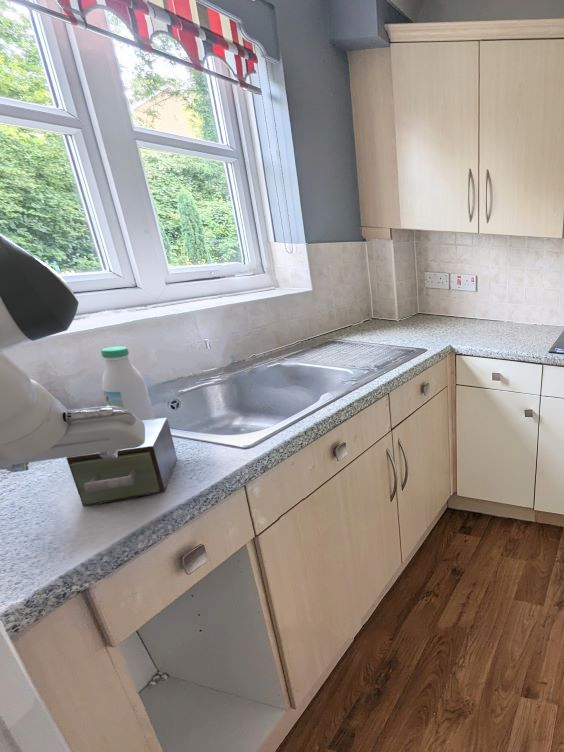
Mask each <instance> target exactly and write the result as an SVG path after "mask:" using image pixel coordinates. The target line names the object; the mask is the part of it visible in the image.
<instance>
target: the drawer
mask: <svg viewBox="0 0 564 752" xmlns="http://www.w3.org/2000/svg"><path fill="white" fill-rule="evenodd" d="M70 466H71V469H72V472H73V475H74V478H75V481H76V483H77V486H78V489H79V492H80V495H81V498H82V501H83V504H84V505H85V504H91V503H97V502H102V501H108V500H113V499H119V498H125V497H130V496H136V495H142V494H147V493H153V492H159V490H160V486H159V483H158V479H157V475H156V472H155V468H154V464H153V461H152V457H151V453H150V451H142V452H135V453H128V454H121V455H118V456H117V457H115V458H107V459H103V457H100V458H93V459H86V460H82V461H78V462H72V464H71V465H70Z"/></svg>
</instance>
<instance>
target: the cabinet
mask: <svg viewBox="0 0 564 752" xmlns="http://www.w3.org/2000/svg"><path fill="white" fill-rule="evenodd" d="M142 422H143V423H144V426H145V442H144V443H143V444H142V445H141V446H139V447H136V448H129V449H122V450H118V455H121V454H128V453H135V452H142V451H150V453H151V457H152V461H153V464H154V468H155V472H156V475H157V479H158V483H159V486H160V490H159V492H153V493H147V494H142V495H136V496H130V497H125V498H119V499H113V500H108V501H102V502H97V503H91V504H85V505H84V504H83V501H82V498H81V495H80V492H79V489H78V486H77V483H76V481H75V478H74V475H73V472H72V469H71V466H70V465H71V464H72V462H78V461H82V460H86V459H93V458H100V457H101V456H100V453H93V454H86V455H79V456H71V457H65V458H66V461H67V465H68V467H69V471H70V473H71V476H72V479H73V482H74V484H75V487H76V490H77V493H78V496H79V499H80V502H81V505H82V507H88V506H93V505H99V504H104V503H110V502H116V501H123V500H126V499H133V498H139V497H143V496H150V495H156V494H161V493H165V492H166V491H167V488H168V485H169V483H170V480H171V477H172V474H173V472H174V469H175V466H176V463H177V460H178V455H177V451H176V448H175V443H174V438H173V436H172V431H171V429H170V428H171V427H170V423H169V420H168V417H161V418H155V419H151V420H142Z"/></svg>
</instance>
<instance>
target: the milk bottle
mask: <svg viewBox="0 0 564 752" xmlns="http://www.w3.org/2000/svg"><path fill="white" fill-rule="evenodd" d="M100 353H101V357H102V360H103V361H104V363H105V365H104V371H103V374H102V379H101V387H102V392H103V397H104V399H105V403H106V406H116V407H121V408H124V409H126V410H128V411H130V412H131V413H133V414H134V415H135V416H137V417H138V418H139V419H140V420H141V421H142V420H151V419H156V418H155V413H154V410H153V406H152V402H151V398H150V395H149V391H148V388H147V384H146V382H145V381H146V380H145V379H144V377H143V375H142V374H141V373H140V371H139V370H138V369H137V368H136V367H135V366H134V365H133V363H132V362H131V360H130V353H129V348H128V347H126V346H110V347H109V346H108V347H105V348H102V349H100Z"/></svg>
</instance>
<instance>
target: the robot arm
mask: <svg viewBox="0 0 564 752" xmlns="http://www.w3.org/2000/svg"><path fill="white" fill-rule="evenodd" d="M75 295H76V294H75V293H74V291H73V290H72V288H71V287H70V285H69V284H68V283H67V282H66V280H65V279H64V278H63V277H62V276H61V275H60V274H59V273H58V272H57V271H55V269H53V268H52V267H51V266H49V265H48V264H46V263H45V262H43V261H42V260H41V259H39V258H37V257H35V256H34V255H32V254H31V253H29V252H28V251H27V250H25V249H24V248H22V247H20V246H19V245H17V244H16V243H15V242H13V241H12V240H10V239H8V238H7V237H6V236H4V235H3V234H1V233H0V470H5V471H9V472H10V473H19V472H24V471H28V470H29V464H30V463H34V462H42V461H50V460H56V459H64V458H67V457H71V456H79V455H86V454H93V453H100V456H101V457H103V459H107V458H115V457H117V456H118V450H122V449H129V448H136V447H139V446H141V445H142V444H143V443H144V442H145V426H144V423H143V422H142V421H141V420H140V419H139V418H138V417H137V416H135V415H134V414H133V413H131V412H130V411H128V410H126V409H124V408H121V407H116V406H107V405H105V406H104V405H103V406H94V407H93V406H92V407H83V408H75V409H67V408H66V406H65V405H64V404H63V403H62V402H61V401H60V400H58V398H56V397H55V396H54V395H53V394H52V393H50V391H48V390H47V389H46V388H45V387H44V386H43V385H41V384H40V383H39V382H37V381H35V380H34V379H32V378H30V376H29V375H28V373H27V372H26V370H24V368H23V367H22V366H21V365H20V364H18V363H17V362H15V361H14V359H12V358H11V357H10V356H8V355H7V354H6V353H4V351H8V350H10V349H13V348H15V347H17V346H20V345H22V344H25V343H28V342H30V341H32V342H34V341H37V340H40V339H43V338H47V337H51V336H53V335H57V334H60V333H62V332H66V331H68V330H69V328H70V327H71V325H72V323H73V321H74V319H75V317H76V314H77V311H78V307H79V300H78V299H77V298H76V296H75Z"/></svg>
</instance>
